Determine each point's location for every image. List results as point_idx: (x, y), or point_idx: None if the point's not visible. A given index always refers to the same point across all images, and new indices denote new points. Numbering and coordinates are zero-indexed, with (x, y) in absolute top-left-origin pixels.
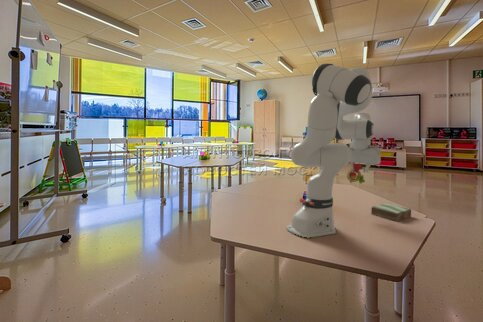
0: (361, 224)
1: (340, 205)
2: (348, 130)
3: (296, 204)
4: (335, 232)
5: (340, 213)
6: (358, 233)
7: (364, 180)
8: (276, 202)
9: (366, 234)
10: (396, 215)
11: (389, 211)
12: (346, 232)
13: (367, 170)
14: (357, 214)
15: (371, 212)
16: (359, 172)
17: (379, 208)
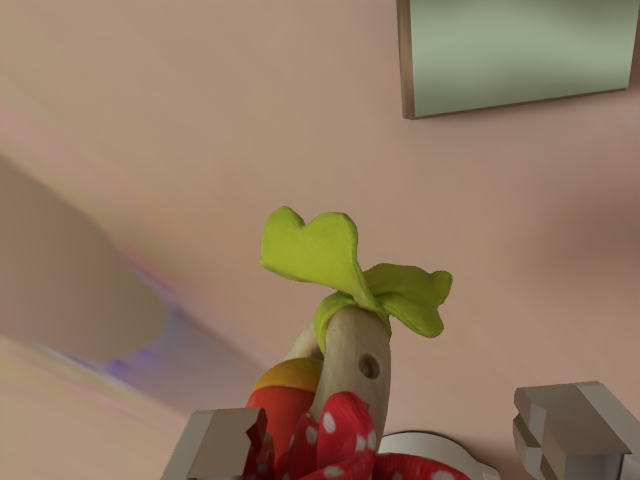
0: (491, 317)
1: (156, 160)
2: None
3: (69, 385)
4: (500, 477)
5: (305, 285)
6: None
7: (449, 291)
8: (9, 447)
9: None
10: (616, 91)
11: (566, 95)
12: None
13: (620, 428)
14: (364, 210)
15: (405, 117)
16: (384, 409)
17: (478, 104)
